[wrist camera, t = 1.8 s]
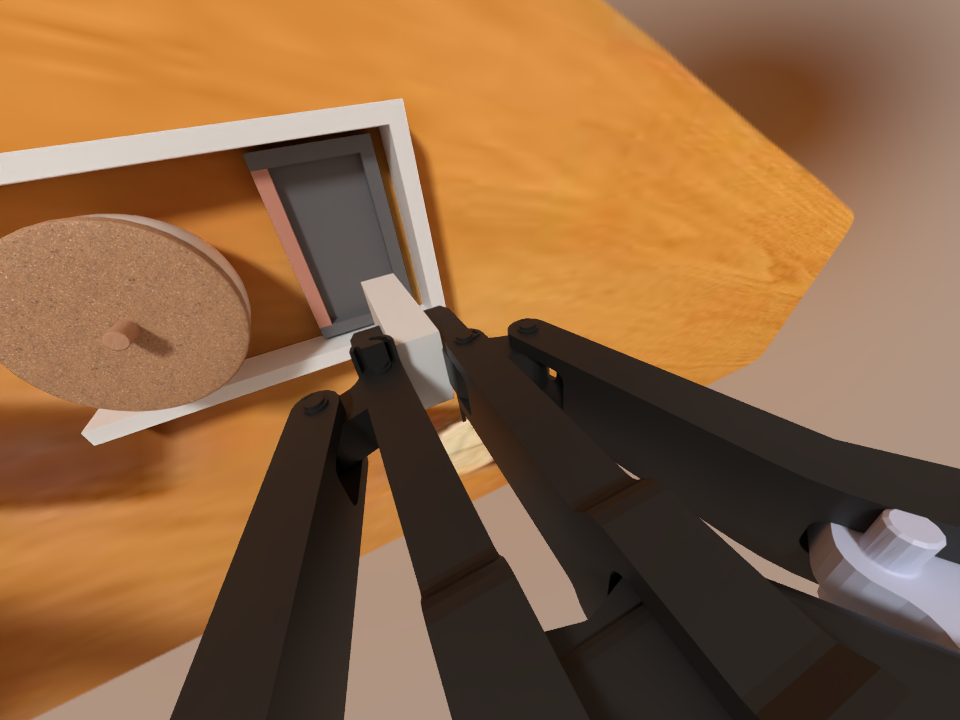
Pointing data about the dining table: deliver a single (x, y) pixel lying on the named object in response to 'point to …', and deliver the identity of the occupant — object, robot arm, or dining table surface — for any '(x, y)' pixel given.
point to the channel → (235, 136)
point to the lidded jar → (120, 312)
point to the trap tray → (331, 223)
